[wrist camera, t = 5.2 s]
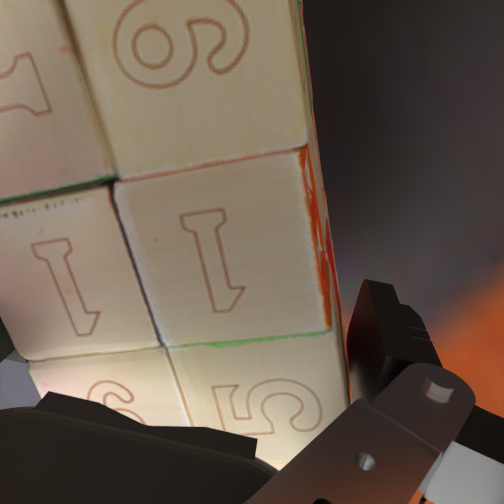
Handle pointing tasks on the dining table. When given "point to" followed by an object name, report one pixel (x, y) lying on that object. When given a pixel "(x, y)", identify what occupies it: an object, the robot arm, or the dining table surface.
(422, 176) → the dining table surface
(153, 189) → the stack of blocks
